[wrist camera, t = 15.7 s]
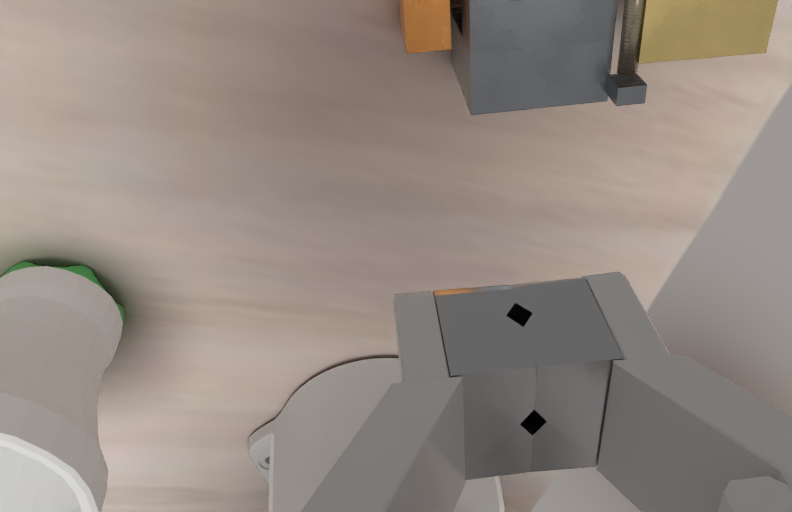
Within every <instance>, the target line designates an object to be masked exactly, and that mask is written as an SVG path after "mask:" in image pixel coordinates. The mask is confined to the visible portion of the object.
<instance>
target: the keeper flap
mask: <svg viewBox="0 0 792 512" xmlns="http://www.w3.org/2000/svg"><path fill="white" fill-rule="evenodd" d="M777 2H778V0H625V4H624V13H623V22H622V32H621V41H620V50H619V59H618V68H617V73H618V74H619V75H622V76H633V75H635V74H637V69H638V64H642V63H653V62H665V61H676V60H688V59H699V58H711V57H722V56H734V55H745V54H757V53H766V49H767V45H768V41H769V37H770V32H771V28H772V24H773V19H774V15H775V11H776V6H777Z"/></svg>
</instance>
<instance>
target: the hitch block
mask: <svg viewBox="0 0 792 512" xmlns="http://www.w3.org/2000/svg"><path fill="white" fill-rule="evenodd" d="M617 2H618V0H462V9H461V10H451V11H450V13H451V45H452V66H453V68H454V71H455V73H456V76H457V79H458V81H459V84H460V87H461V89H462V92H463V95H464V97H465V100H466V102H467V105H468V108H469V110H470V113H471V115H477V114H487V113H496V112H506V111H516V110H525V109H535V108H545V107H554V106H564V105H574V104H583V103H593V102H603V101H607V99H608V96H609V97H610V99H611V100H612V101H613V102H614V104H615V105H616V106H622V105H631V104H641V103H645V96H646V89H647V84H646V83H645V82H644V81H643V80H642V79H641V78H640V77H639V76H638V75H637V74H635V75H633V76H622V75H619V74H614V75H610V70H611V60H612V50H613V41H614V31H615V21H616V12H617Z"/></svg>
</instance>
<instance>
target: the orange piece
mask: <svg viewBox="0 0 792 512" xmlns="http://www.w3.org/2000/svg"><path fill="white" fill-rule="evenodd" d="M453 7H462V0H399V12H400V26H401V32H402V36H403V40H404V44H405V48H406V52H407V54H409V53H419V52H429V51H439V50H448V49H451V22H450V8H453Z"/></svg>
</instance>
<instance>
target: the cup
mask: <svg viewBox="0 0 792 512" xmlns="http://www.w3.org/2000/svg"><path fill="white" fill-rule="evenodd" d="M123 325H124V311H123V307H122V306H121V305H119V304H118V303H117V302H115V301H114V300H113V298H112V297H111V296H110V295H109V294H108V293H107V292H106V291H105V289H104V288H103V287H102V286H101V284H100V283H99V282H98V280H97V278H96V277H95V275H94V274H93V272H92V270H91V269H90V268H87V267H85V266H83V265H80V266H70V267H48V266H37V265H35V264H33V263H30V262H25V261H23V262H21V263H18V264H16V265H15V266H13V267H12V268H11V269H9V270H8V271H7V272H6V273H5V274H4V275H3V276H2V277H1V278H0V512H101V510H102V506H103V502H104V499H105V495H106V489H107V478H108V468H107V465H106V462H105V460H104V457H103V454H102V451H101V448H100V444H99V437H98V420H97V403H98V397H99V390H100V386H101V382H102V378H103V375H104V371H105V369H106V368H107V367H108V366H109V365H110V363H111V362H112V359H113V357H114V355H115V352H116V350H117V347H118V344H119V341H120V338H121V335H122V329H123Z"/></svg>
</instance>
